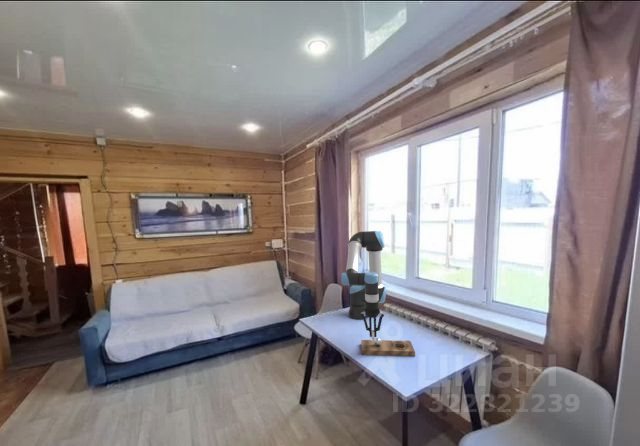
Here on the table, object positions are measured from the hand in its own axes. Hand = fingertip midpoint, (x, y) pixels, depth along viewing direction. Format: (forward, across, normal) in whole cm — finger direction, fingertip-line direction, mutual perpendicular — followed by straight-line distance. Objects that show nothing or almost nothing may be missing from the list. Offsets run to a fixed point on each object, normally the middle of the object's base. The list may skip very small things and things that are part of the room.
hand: (373, 342), depth 150 cm
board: (+4, +7, 0) cm, 8 cm away
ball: (0, +3, 0) cm, 3 cm away
